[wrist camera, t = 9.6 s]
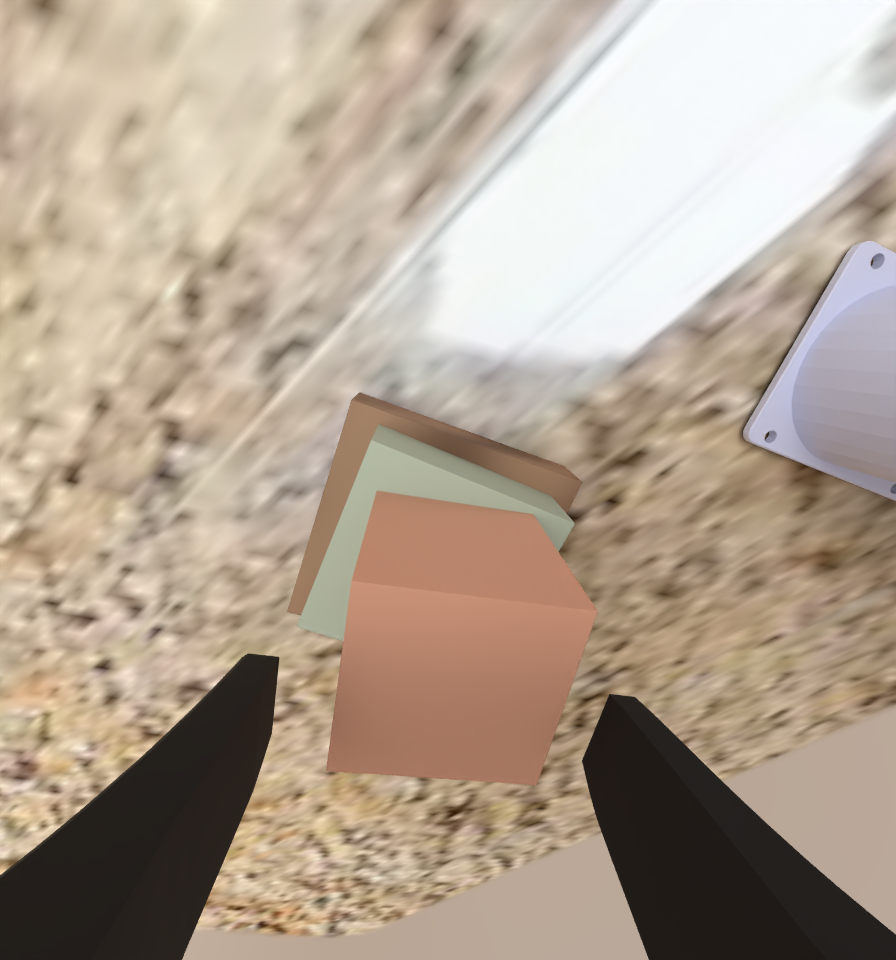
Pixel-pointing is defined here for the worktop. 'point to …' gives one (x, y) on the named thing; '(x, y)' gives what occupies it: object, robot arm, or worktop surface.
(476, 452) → the walnut block
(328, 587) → the sage block
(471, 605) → the terracotta block
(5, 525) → the worktop surface
